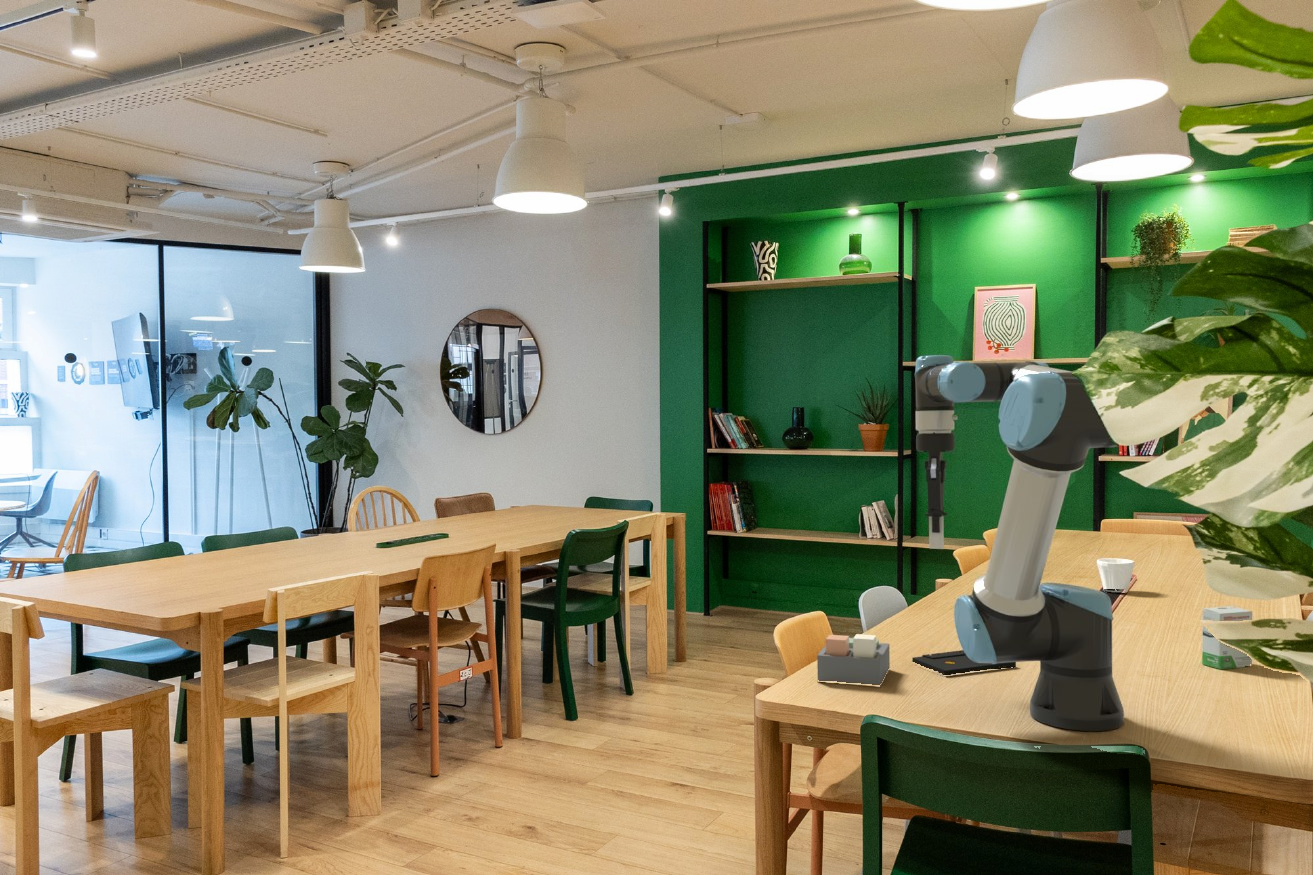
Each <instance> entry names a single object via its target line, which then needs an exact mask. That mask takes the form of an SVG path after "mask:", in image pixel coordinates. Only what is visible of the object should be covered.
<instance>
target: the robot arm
mask: <svg viewBox="0 0 1313 875" xmlns="http://www.w3.org/2000/svg"><path fill="white" fill-rule="evenodd" d="M914 371H915V372H914V379H915V431H918V433H917V435H915V437H916V439H915V442H916V443H915V444H916V446H915V447H916V448H915V449H916V451H917V452H919V453H921V452H922V453H928V460H925V461H924V469H925V471H926V472H925V476H926V477H925V481H926V484H927V506H928V507H927V509H928V510H927V512H926V513H925V517H928V533H929V534H928V538H929V539H928V543H929V544H928V545H929V547H928V548H929V549H933V550H934V549H935V550H944V548H945V544H944V542H945V538H944V534H945V533H944V528H945V527H944V526H945V525H944V516H947V514H948V512H946V511H944V510H945V506H944V504H945V503H944V501H945V500H944V499H945V495H944V494H945V493H944V492H945V489H944V488H945V481H946V469H947V460H946V459H945V460H943V458H944V457H943V453H944V452H945V453H948V452H949V453H950V452H954V451H955V449H956V444H955V443H956V441H955V440H956V439H955V438H956V437H955V434H954V432H952V431H954V430H955V421H957V420H958V415H956V414H955V403H969V402H970V403H975V402H976V403H977V402H980V403H981V402H1000V405H999V410H998V420H999V421H1000V422H999V423H998V430H999V431H998V432H999V436H1000V439H1001V440H1002V442H1003V443H1004V444H1005V446H1006V450H1007V452H1008V454H1009V456H1010V457H1011V458H1012V459H1013V462H1012V466H1011V470H1010V475H1009V480H1008V483H1007V484H1008V485H1007V488H1006V491H1005V496H1004V499H1003V503H1002V509H1001V512H1000V515H999V520H998V525H997V528H996V533H995V537H994V541H993V545H992V550H991V554H990V557H989V561H988V566H987V569H986V573H985V574H982V575H980V576H979V577H977V579H975V581H974V585H973V587H972V588H973V589H972V591H971V592H972V593H971V594H970V595H969V594H963V595H962V596H958V597H957V599H956V600H955V602H954V607H953V609H954V610H953V619H954V624H955V625H954V626H955V631H956V634H957V639H958V642H959V644H960V647H961V650H963V651H964V652H965V654H966V655H967V656H968V658H969V659H971V660H972V661H974V662H977V663H992V664H996V663H1007V662H1016V663H1020V662H1022V663H1023V662H1040V663H1039V664H1040V665H1039V667H1040V669H1039V670H1040V671H1039V674H1038V676H1037V679H1036V680H1037V681H1036V683H1035V686H1034V689H1033V692H1032V695H1031V697H1030V702H1029V714H1030V716H1031V718H1033V719H1034V720H1035V721H1037V722H1040V723H1043V724H1045V725H1049V726H1051V727H1055V728H1059V729H1060V728H1061V729H1065V730H1073V731H1080V732H1081V731H1084V732H1104V731H1111V730H1115V729H1118V728H1120V727H1122V726H1123V725H1124V724H1125V712H1124V707H1123V704H1122V701H1121V697H1120V695H1119V692H1118V690H1117V687H1116V684H1115V681H1114V678H1113V621H1114V616H1113V607H1112V601H1111V598H1110V596H1109V595H1108V594H1107V593H1106V592H1103V591H1101V590H1098V589H1094V588H1090V587H1086V586H1081V585H1075V584H1067V583H1061V582H1059V583H1057V582H1042V583H1041V581H1042V579H1043V574H1044V572H1045V568H1046V564H1047V560H1048V556H1049V553H1050V549H1051V548H1052V547H1051V546H1052V542H1053V538H1054V536H1055V531H1056V528H1057V523H1058V521H1059V517H1060V513H1061V510H1062V507H1063V503H1064V499H1065V495H1066V492H1067V489H1068V485H1069V481H1070V477H1071V474H1072V473H1074V472H1077V471H1079V470H1080V469H1082V468H1083V467H1084V465H1085V463H1086V460H1087V456H1088V453H1089V450H1090V449H1096V448H1097V449H1098V448H1100V449H1101V448H1116V447H1118V446H1117V445H1115V444H1114V443H1113V442H1112V441H1111V439H1110V438H1109V436H1108V434H1107V431H1106V430H1105V427H1104V426H1103V423H1102V422H1101V420H1100V419H1099V417H1098V415H1097V413H1096V411H1095V410H1094V407H1093V405H1092V402H1091V401H1090V398H1089V397H1088V395H1087V394H1086V391H1085V390H1084V386H1083V385H1082V383H1081V382H1080V380H1079V379H1078V378H1077V377H1075V376H1073V375H1072V373H1073V372H1074V371H1070V370H1067V369H1066V370H1065V369H1060V368H1055V367H1050V366H1049V365H1048V363H1045V362H1042V361H1040V362H1039V361H1030V360H1029V361H1028V360H1027V361H1018V362H1013V361H1012V362H1010V361H1009V362H970V361H955V360H954V357H952V356H951V355H946V354H945V355H944V354H939V355H938V354H936V355H935V354H934V355H931V354H930V355H921V356H919V357H917V358H916V360H915V370H914ZM954 414H955V415H954Z"/></svg>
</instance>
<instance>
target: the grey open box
mask: <svg viewBox="0 0 1313 875" xmlns="http://www.w3.org/2000/svg"><path fill="white" fill-rule="evenodd" d="M853 638H854V637H849V655H848V656H838V655H826V645H825V646H824V647H823V648H822V649H821V650H820V651H819V653H818V654H817V661H816V662H817V664H816V665H817V666H816V667H817V668H816V669H817V681H818V680H819V681H837V682H846V683H861V684H872V685H880V684H881V683H882V681H883V679H884V677H885V675H886V673H887V671H888V669H889V668H891V667H890V664H891V663H890V661H891V660H890V656H891V655H890V643H885V642H884V643H883V642H880V640H879V639H876V652H877V657H876V658H866V657H853ZM883 682H884V681H883ZM882 684H883V683H882Z"/></svg>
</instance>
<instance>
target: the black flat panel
mask: <svg viewBox="0 0 1313 875" xmlns="http://www.w3.org/2000/svg"><path fill="white" fill-rule="evenodd" d="M911 658H912V660H911V662H915V663H917V664H920V665H921V666H924V667H926V668H929V669H933V670H934V671H938V672H939V673H942V674H943V675H951V674H956V673H965V672H970V671H980V670H987V669H1001V668H1011V667H1013V668H1011V669H1015V668H1014V667H1016V668H1017V662H1007V663H996V664H992V663H977V662H974V661H972V660H971V659H969V658H968V656H967V655H966V654H965V652H964V651H963V649H961V650H954V651H944V652H938V653H931V654H930V653H929V654H922V655H921V656H914V657H911Z"/></svg>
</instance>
